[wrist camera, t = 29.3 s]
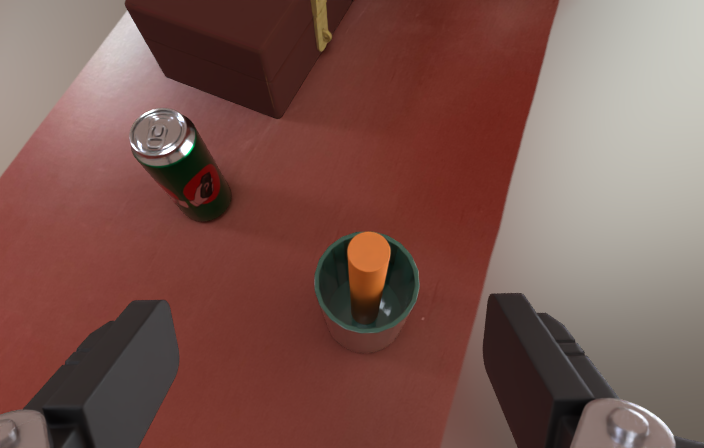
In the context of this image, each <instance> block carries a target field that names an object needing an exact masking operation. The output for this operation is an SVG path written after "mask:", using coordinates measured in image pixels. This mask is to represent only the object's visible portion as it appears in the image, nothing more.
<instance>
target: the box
mask: <svg viewBox="0 0 704 448" xmlns="http://www.w3.org/2000/svg"><path fill="white" fill-rule="evenodd" d="M352 1H353V0H126V1H125V6H126V8H127V10H128V12H129V14H130V15H131V17H132V19H133V21H134V22H135V24H136V26H137V28H138V29H139V31H140V33H141V35H142V36H143V38H144V40H145V42H146V43H147V45H148V47H149V49H150V50H151V52H152V54H153V55H154V57H155V59H156V61H157V62H158V64H159V66H160V68H161V69H162V71H163V73H164V75H165V76H166V77H168V78H171V79H174V80H176V81H179V82H182V83H184V84H187V85H189V86H192V87H195V88H197V89H200V90H203V91H205V92H208V93H211V94H213V95H216V96H219V97H221V98H224V99H226V100H229V101H232V102H234V103H237V104H240V105H242V106H245V107H248V108H250V109H253V110H255V111H258V112H261V113H263V114H266V115H269V116H271V117H274V118H280V117H282V115H283V114H284V112H285V110H286V109H287V107H288V106H289V104H290V102H291V101H292V99H293V97H294V96H295V94H296V93H297V91H298V89H299V88H300V86H301V84H302V83H303V81H304V80H305V78H306V76H307V75H308V73H309V71H310V70H311V68H312V67H313V65H314V63H315V62H316V60H317V58H318V57H319V55H320V53H321V52H322V51H323V50H324V49H325V47H326V45H327V42H330V40H331V39H332V34H333V32H334V31H335V29H336V27H337V26H338V24H339V23H340V21H341V19H342V18H343V16H344V14H345V13H346V11H347V10H348V8H349V6H350V5H351V3H352Z"/></svg>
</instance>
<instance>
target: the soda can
mask: <svg viewBox="0 0 704 448" xmlns="http://www.w3.org/2000/svg"><path fill="white" fill-rule="evenodd" d="M129 138H130V143H131V150H132V153H133V155H134V157H135V158H136V159H137V160H138V162H139V163H140V164H141V165H142V166H143V167H144V168H145V170H146V171H147V172H148V173H149V174H150V175H151V176H152V178H153V179H154V180H155V181H156V182H157V183H158V184H159V186H160V187H161V188H162V189H163V190H164V191H165V192H166V194H167V195H168V196H169V197H170V198H171V199H172V200H173V202H174V203H175V204H176V205H177V206H178V207H179V208H180V209H181V211H182V212H183V213H184V214H185V215H186V216H187V217H189V218H190V219H192V220H195V221H210V220H213V219H215V218H217V217H219V216H220V215H221V214H223V213H224V212H225V210H226V209H227V208H228V206H229V204H230V201H231V190H230V187H229V185H228V184H227V182H226V180H225V178H224V177H223V175H222V173H221V171H220V170H219V168H218V166H217V164H216V163H215V161H214V159H213V157H212V156H211V154H210V152H209V150H208V149H207V147H206V145H205V143H204V142H203V140H202V138H201V136H200V135H199V133H198V131H197V129H196V128H195V126H194V124H193V123H192V122H191V120H189V119H188V118H187V117H185V116H184V115H181V114H180V113H179V112H177V111H175V110H173V109H169V108H158V109H153V110H150V111H148V112H146V113H144V114H142V115H141V116H140V117H139V118H138V119H137V120H136V121H135V122H134V123H133V125H132V127H131V130H130V134H129Z"/></svg>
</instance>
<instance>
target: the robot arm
mask: <svg viewBox="0 0 704 448" xmlns="http://www.w3.org/2000/svg"><path fill="white" fill-rule="evenodd" d="M483 359H484V365H485V369H486V372H487V374H488V377H489V379H490V382H491V384H492V386H493V389H494V391H495V393H496V396H497V398H498V401H499V403H500V405H501V408H502V411H503V413H504V415H505V418H506V420H507V423H508V425H509V427H510V430H511V432H512V435H513V437H514V439H515V442H516V444H517V447H518V448H704V443H702V442H698V441H694V440H689V439H685V438H681V437H677V436H673V435H672V433H671V431H670V430H669V428H668V427H667V426H666V425H665V424H664V423H663V422H662V421H661V420H660V419H659V418H658V417H657V416H655V415H654V414H653V413H651V412H650V411H648V410H646V409H644V408H643V407H640V406H638V405H636V404H634V403H631V402H628V401H625V400H621V399H619V397H618V396H617V395H616V393H615V392H614V391H613V389H612V388H611V387H610V385H609V384H608V383H607V381H606V380H605V379H604V378H603V376H602V375H601V373H600V372H599V371H598V370H597V368H596V367H595V366H594V364H593V363H592V362H591V360H590V359H589V358H588V356H585V354H584V351H583V350H582V348H581V347H580V346H579V344H578V343H575V339H574V338H573V337H572V335H571V334H570V333H569V331H568V330H567V329H566V327H565V326H564V325H563V324H561V323H560V322H558V321H557V320H556V319H554V318H553V317H551V316H550V315H548V314H547V313H536V312H535V310H534V309H533V307H532V306H531V304H530V303H529V302H528V300H527V299H526V297H525V296H524V295H523V294H522V293H507V294H506V293H501V294H490V296H489V298H488V304H487V312H486V321H485V331H484V340H483ZM178 366H179V349H178V344H177V339H176V334H175V329H174V325H173V320H172V315H171V310H170V306H169V304H168V302H167V301H166V300H135V301H132V302H131V303H130V304H129V305H128V306H127V307H126V309H125V310H124V311H123V312H122V313H121V314H120V316H119V317H118V318H117V319H116V320H115V321H109V322H108V323H106V324H105V325H103V326H102V327H100V328H99V329H97V330H96V331H94V332H92V333H91V334H90V335H89V336H88V337H87V338H86V339H85V340H84V341H83V342H82V344H81V345H80V346H79V347H78V348H77V351H76V352H74V353H73V354H72V355H71V356H70V357H69V358H68V359H67V360H66V361H65V365H62V366H61V367H60V368H59V369H58V370H57V372H56V373H55V374H54V375H53V376H52V377H51V378H50V379H49V380H48V382H47V383H46V384H45V385H44V386H43V387H42V388H41V389H40V391H39V392H38V393H37V394H36V395H35V396H34V397H33V398H32V399H31V401H30V402H29V403H28V404H27V405H26V406H25V407H24V408H23V410H16V411H11V412H7V413H4V414H1V415H0V448H138V447H139V445H140V444H141V442H142V440H143V438H144V436H145V434H146V432H147V430H148V428H149V426H150V424H151V423H152V421H153V419H154V417H155V415H156V413H157V411H158V409H159V407H160V405H161V403H162V402H163V400H164V398H165V396H166V394H167V392H168V390H169V388H170V386H171V384H172V382H173V381H174V379H175V377H176V374H177V371H178Z"/></svg>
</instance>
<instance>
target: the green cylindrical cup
mask: <svg viewBox="0 0 704 448" xmlns="http://www.w3.org/2000/svg"><path fill="white" fill-rule="evenodd" d="M371 232H372V231H371ZM360 233H363V232H355V233H352V234H349V235H346V236H344V237H342V238H340V239H338V240H337V241H336V242H334V243H333V244H332V245H330V246H329V247H328V248H327V250H326V251H325V252H324V254H323V255H322V256H321V258H320V260H319V262H318V265H317V268H316V271H315V293H316V296H317V299H318V302H319V304H320V307H321V310H322V313H323V316H324V318H325V321H326V324H327V327H328V329H329V332H330V333H331V335H332V336H333V338H334V339H335V340H336V341H337V342H338V343H339V344H340V345H341V346H343V347H344V348H346V349H348V350H350V351H353V352H357V353H374V352H377V351H380V350H382V349H384V348H386V347H387V346H388V345H390V344H391V343H392V342H393V341H394V340H395V339H396V337H397V336H398V334H399V332H400V331H401V329H402V327H403V325H404V323H405V322H406V320H407V318H408V316H409V314H410V312H411V310H412V308H413V307H414V305H415V303H416V300H417V295H418V291H419V286H420V285H419V275H418V269H417V267H416V264H415V262H414V260H413V258H412V256H411V254H410V253H409V252H408V251H407V250H406V249H405V248H404V246H403V245H402V244H401V243H399V242H398V241H396V240H394V239H393V238H391V237H389V236H387V235H384V234H380V233H378V234H380V235H381V236H383V237H384V238H385V239H386V240H387V242H388V244H389V246H390V259H389V264H388V269H387V273H386V278H385V283H384V288H383V293H382V298H381V302H380V307H379V312H378V316H377V318H376V320H375V321H374V322H372V323H370V324H366V325H363V324H360V323H358V322H356V321H355V320H354V318H353V316H352V313H351V299H350V284H349V269H348V254H347V250H348V245H349V243H350V241H351V240H352V239H353V238H354V237H355V236H356V235H358V234H360ZM375 233H376V232H375Z"/></svg>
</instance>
